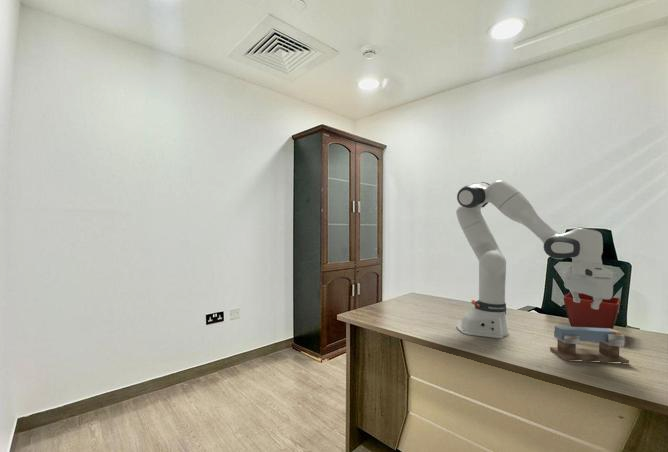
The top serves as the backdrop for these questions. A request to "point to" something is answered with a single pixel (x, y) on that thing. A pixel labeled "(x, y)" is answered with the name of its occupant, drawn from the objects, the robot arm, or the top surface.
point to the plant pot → (591, 312)
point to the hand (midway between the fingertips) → (585, 305)
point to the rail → (585, 333)
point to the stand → (604, 354)
